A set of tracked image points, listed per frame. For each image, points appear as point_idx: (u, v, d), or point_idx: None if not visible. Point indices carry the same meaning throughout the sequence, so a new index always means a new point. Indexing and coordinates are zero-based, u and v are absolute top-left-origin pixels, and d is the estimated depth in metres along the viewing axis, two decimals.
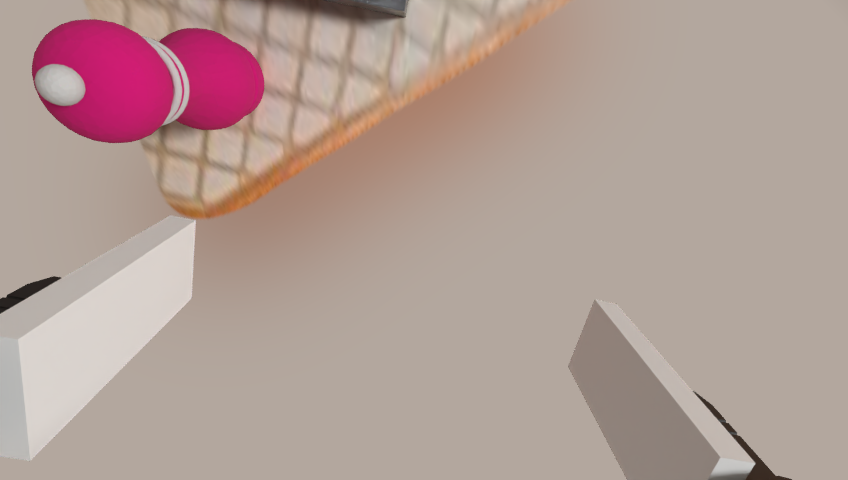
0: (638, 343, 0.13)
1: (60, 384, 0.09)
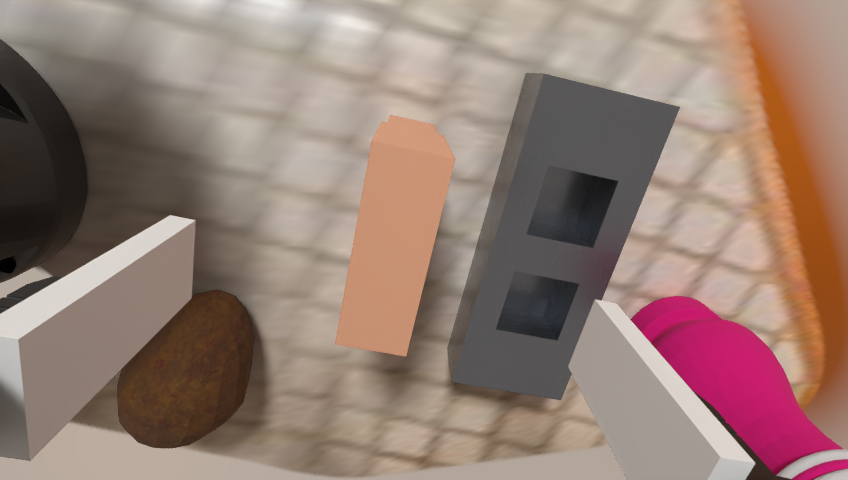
0: (638, 343, 0.13)
1: (60, 384, 0.09)
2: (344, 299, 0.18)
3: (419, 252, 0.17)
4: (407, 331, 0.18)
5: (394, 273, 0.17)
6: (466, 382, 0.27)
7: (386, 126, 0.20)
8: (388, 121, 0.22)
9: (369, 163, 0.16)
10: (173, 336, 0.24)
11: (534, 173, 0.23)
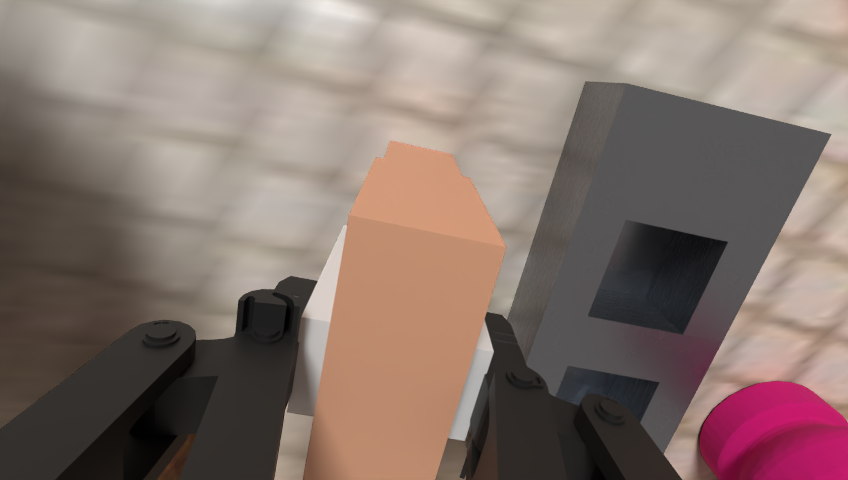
0: None
1: None
2: (306, 474, 0.10)
3: (437, 402, 0.10)
4: None
5: (392, 434, 0.10)
6: None
7: (381, 168, 0.13)
8: (386, 155, 0.14)
9: (345, 255, 0.08)
10: None
11: (603, 231, 0.15)
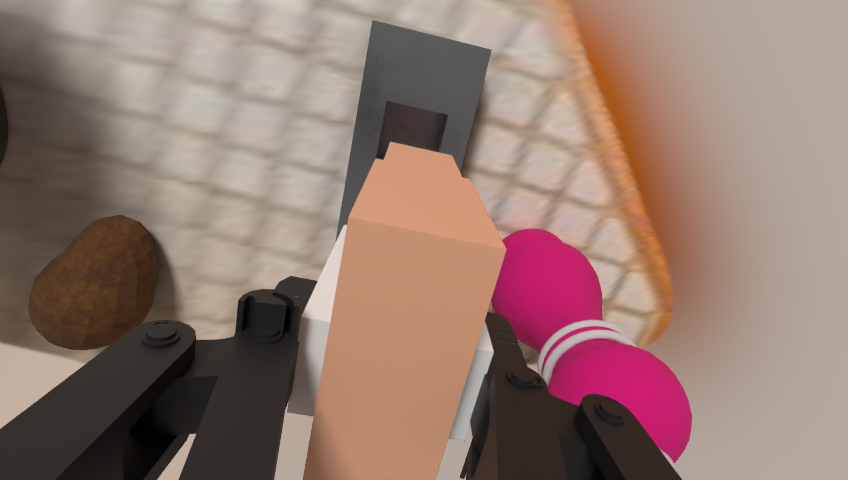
0: None
1: None
2: (305, 476, 0.10)
3: (437, 404, 0.10)
4: None
5: (391, 436, 0.10)
6: None
7: (381, 169, 0.13)
8: (385, 156, 0.14)
9: (344, 258, 0.08)
10: (75, 247, 0.28)
11: (375, 107, 0.27)
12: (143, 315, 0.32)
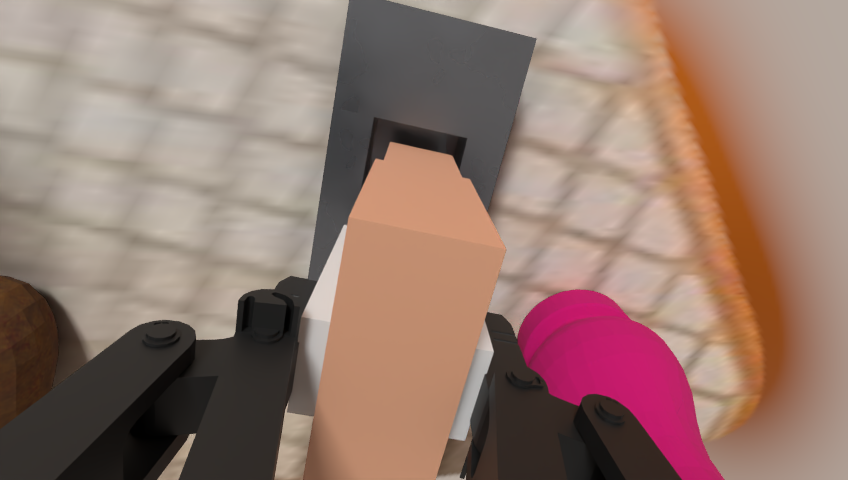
0: None
1: None
2: (305, 476, 0.10)
3: (436, 404, 0.10)
4: None
5: (391, 436, 0.10)
6: None
7: (381, 169, 0.13)
8: (385, 156, 0.14)
9: (344, 257, 0.08)
10: None
11: (357, 127, 0.18)
12: None
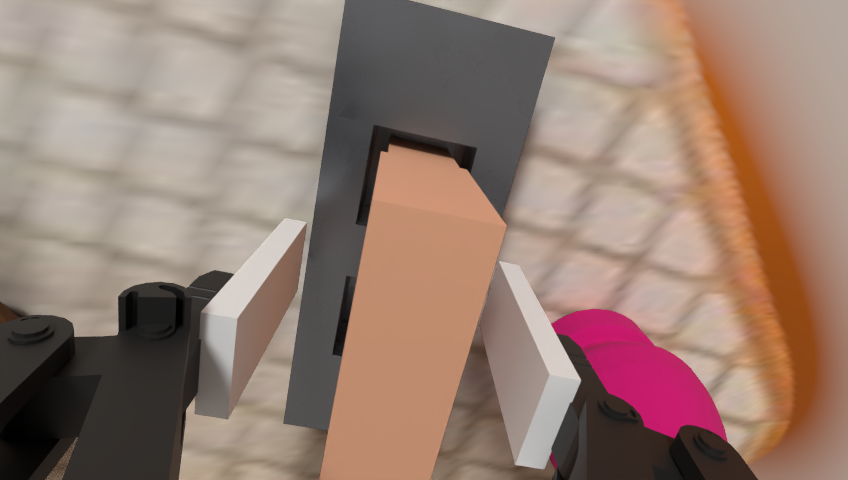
0: (522, 294, 0.14)
1: (244, 358, 0.11)
2: (330, 432, 0.12)
3: (447, 363, 0.11)
4: (426, 470, 0.12)
5: (406, 393, 0.11)
6: (302, 424, 0.20)
7: (388, 160, 0.14)
8: (389, 149, 0.16)
9: (368, 235, 0.10)
10: None
11: (354, 136, 0.16)
12: None
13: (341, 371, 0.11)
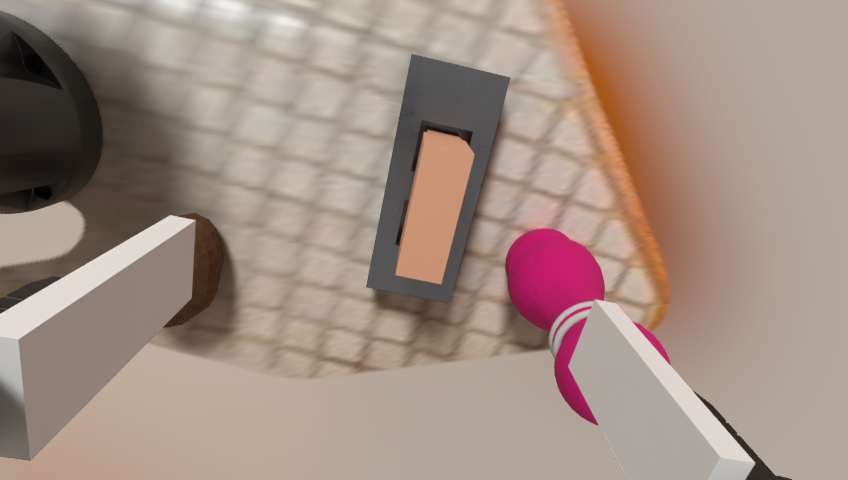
0: (638, 343, 0.13)
1: (60, 384, 0.09)
2: (403, 244, 0.28)
3: (451, 213, 0.27)
4: (442, 266, 0.28)
5: (435, 227, 0.28)
6: (377, 287, 0.37)
7: (428, 134, 0.30)
8: (427, 131, 0.32)
9: (422, 157, 0.26)
10: None
11: (412, 125, 0.32)
12: (211, 299, 0.37)
13: (409, 215, 0.27)
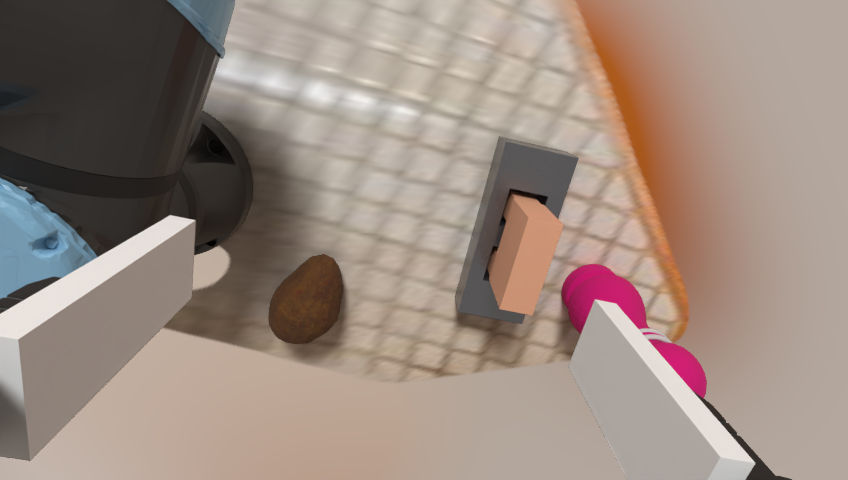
0: (638, 343, 0.13)
1: (60, 384, 0.09)
2: (507, 287, 0.38)
3: (544, 265, 0.38)
4: (534, 303, 0.39)
5: (531, 275, 0.38)
6: (466, 312, 0.47)
7: (519, 202, 0.41)
8: (514, 197, 0.42)
9: (526, 227, 0.36)
10: (305, 277, 0.44)
11: (502, 192, 0.43)
12: (335, 321, 0.47)
13: (513, 267, 0.38)
